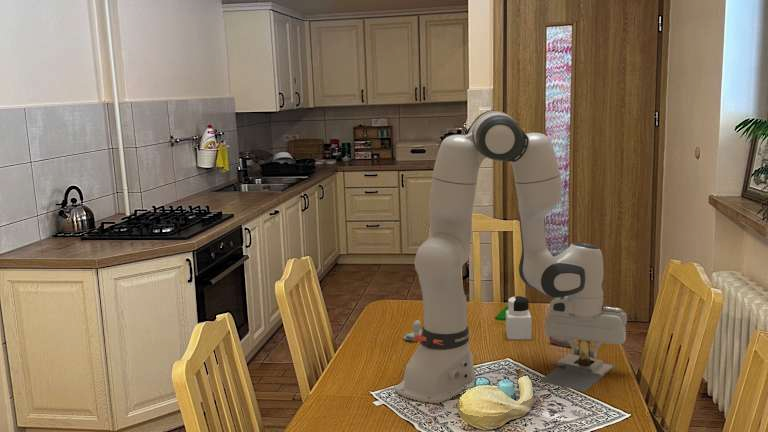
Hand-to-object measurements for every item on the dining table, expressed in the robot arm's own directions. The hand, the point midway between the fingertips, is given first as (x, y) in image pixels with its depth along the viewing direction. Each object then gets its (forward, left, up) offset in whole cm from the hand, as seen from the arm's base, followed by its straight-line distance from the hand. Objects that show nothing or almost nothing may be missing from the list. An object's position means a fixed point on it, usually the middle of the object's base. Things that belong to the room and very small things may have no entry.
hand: (584, 355), depth 186 cm
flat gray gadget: (0, 0, -3) cm, 3 cm away
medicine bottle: (+17, +28, -5) cm, 33 cm away
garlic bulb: (+17, +14, -5) cm, 23 cm away
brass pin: (0, 0, -3) cm, 3 cm away
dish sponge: (+31, +38, -6) cm, 49 cm away
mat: (-4, 0, -5) cm, 6 cm away
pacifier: (-2, +53, -5) cm, 54 cm away
